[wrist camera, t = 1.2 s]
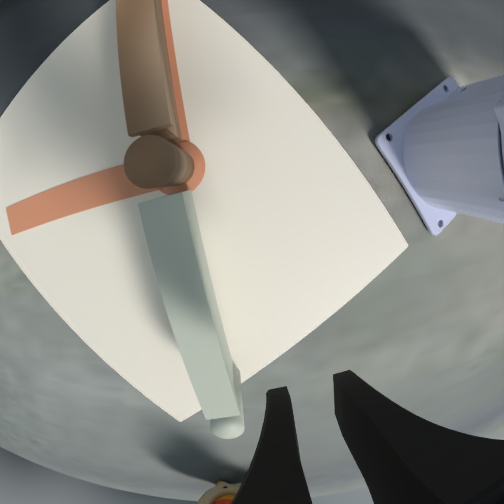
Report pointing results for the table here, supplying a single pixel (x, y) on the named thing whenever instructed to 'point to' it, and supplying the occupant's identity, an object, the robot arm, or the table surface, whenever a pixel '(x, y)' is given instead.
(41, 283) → the board
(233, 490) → the bird rattle
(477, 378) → the table surface
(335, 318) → the table surface
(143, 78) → the bar
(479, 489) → the robot arm
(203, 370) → the fence gate
